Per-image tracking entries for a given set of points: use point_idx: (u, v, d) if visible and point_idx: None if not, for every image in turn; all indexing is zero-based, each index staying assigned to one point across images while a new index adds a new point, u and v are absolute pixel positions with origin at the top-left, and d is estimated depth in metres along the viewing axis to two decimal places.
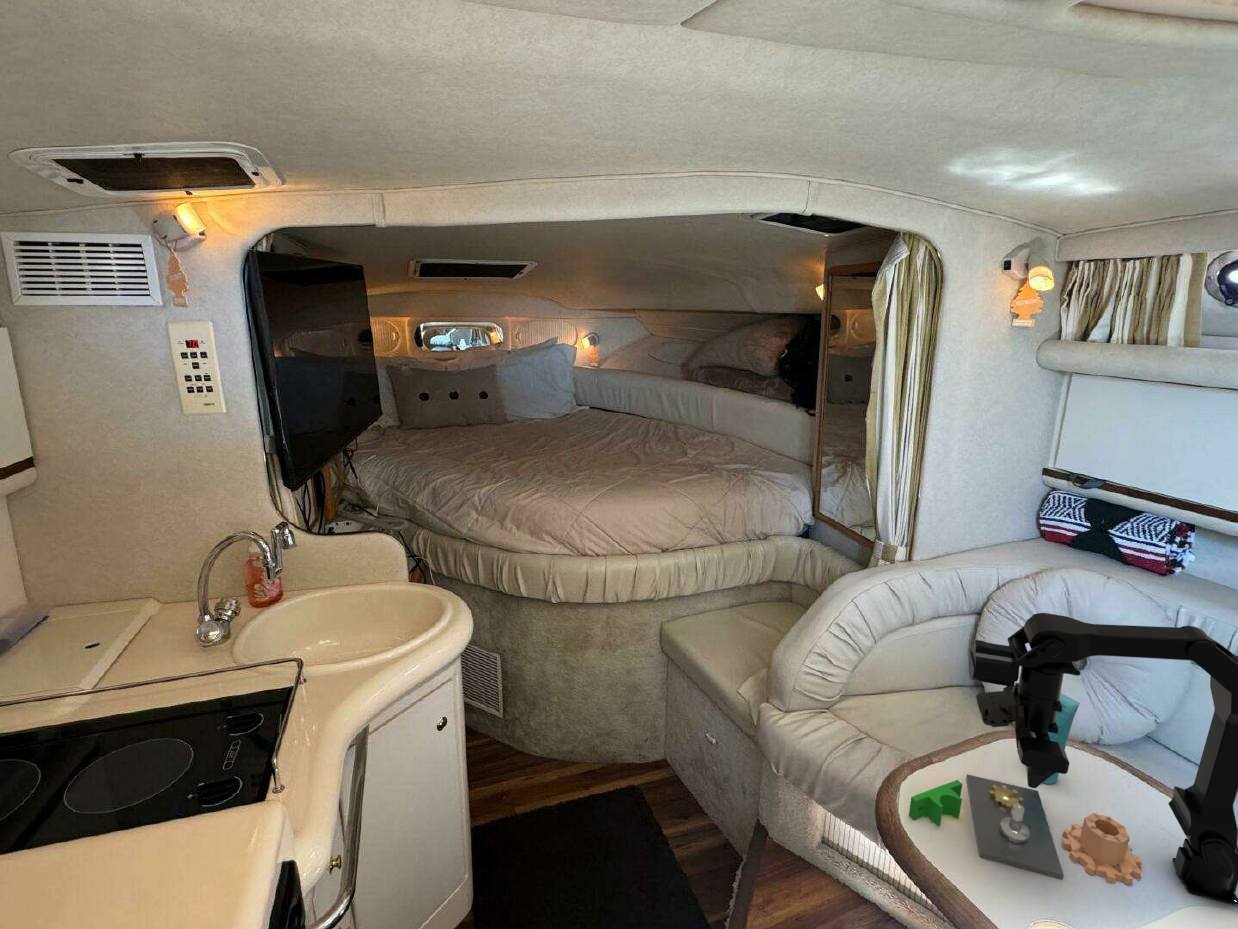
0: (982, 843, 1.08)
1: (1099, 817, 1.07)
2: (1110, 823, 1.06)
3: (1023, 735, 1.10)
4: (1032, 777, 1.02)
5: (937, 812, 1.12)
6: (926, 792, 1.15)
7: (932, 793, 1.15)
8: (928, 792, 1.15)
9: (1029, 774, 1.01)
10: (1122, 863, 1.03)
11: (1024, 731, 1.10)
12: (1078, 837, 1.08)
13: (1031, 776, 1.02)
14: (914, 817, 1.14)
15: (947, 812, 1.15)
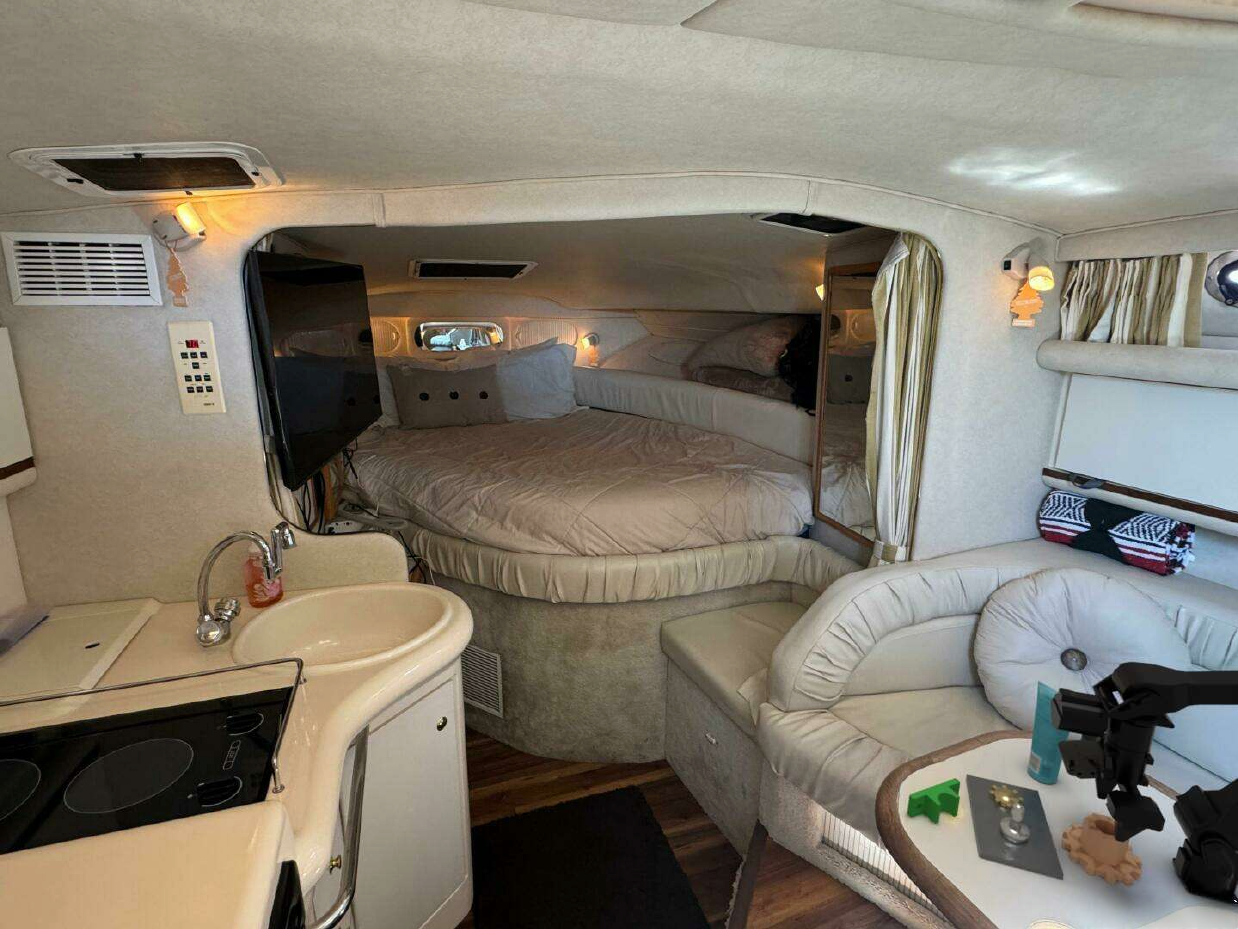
0: (982, 843, 1.08)
1: (1099, 817, 1.07)
2: (1110, 823, 1.06)
3: (1104, 784, 1.07)
4: (1121, 831, 0.99)
5: (935, 810, 1.13)
6: (924, 790, 1.16)
7: (930, 791, 1.15)
8: (926, 790, 1.15)
9: (1118, 828, 0.98)
10: (1122, 863, 1.03)
11: (1105, 780, 1.07)
12: (1078, 837, 1.08)
13: (1120, 830, 0.99)
14: (913, 815, 1.15)
15: (945, 810, 1.16)
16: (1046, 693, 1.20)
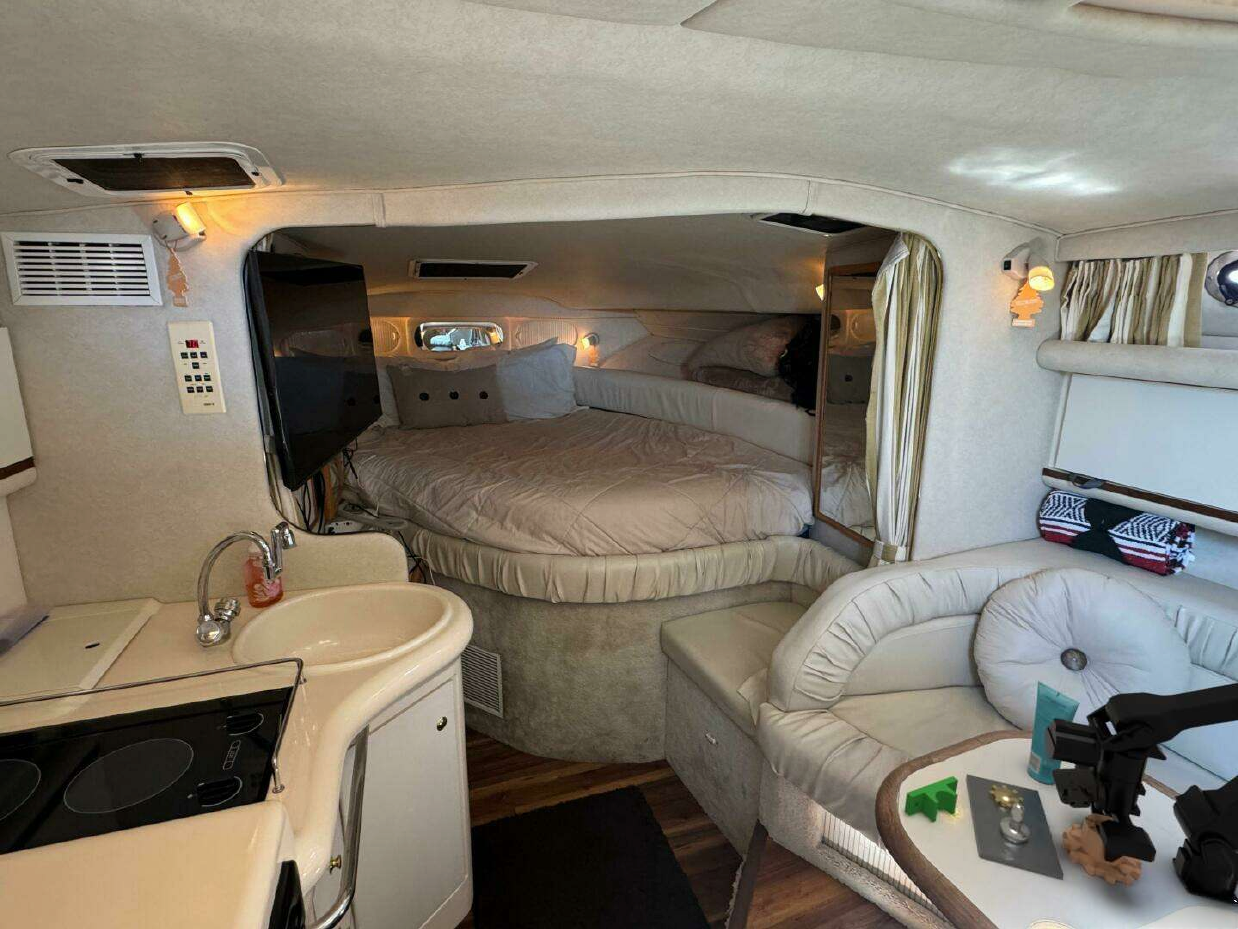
0: (982, 843, 1.08)
1: (1099, 817, 1.07)
2: None
3: None
4: (1110, 852, 1.02)
5: (933, 808, 1.13)
6: (922, 788, 1.16)
7: (928, 789, 1.16)
8: (924, 788, 1.16)
9: (1107, 849, 1.02)
10: (1122, 863, 1.03)
11: (1101, 814, 1.07)
12: (1078, 837, 1.08)
13: (1109, 851, 1.02)
14: (910, 813, 1.15)
15: (943, 808, 1.16)
16: (1046, 693, 1.20)
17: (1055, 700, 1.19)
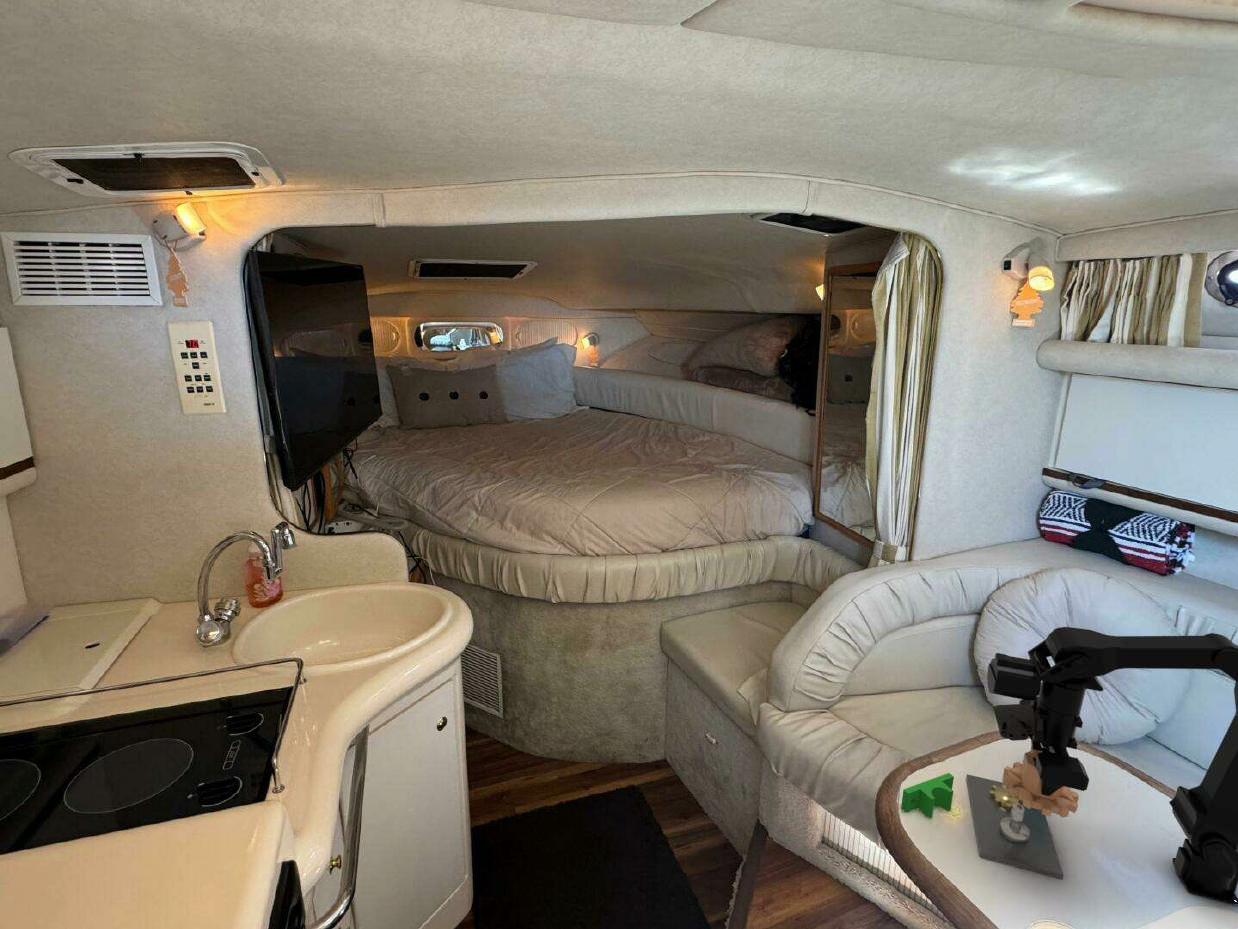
0: (982, 843, 1.08)
1: None
2: None
3: None
4: (1046, 785, 1.02)
5: (929, 805, 1.14)
6: (918, 784, 1.17)
7: (924, 786, 1.16)
8: (920, 785, 1.17)
9: (1044, 782, 1.02)
10: (1059, 797, 1.04)
11: None
12: (1018, 774, 1.09)
13: (1045, 784, 1.02)
14: (907, 810, 1.16)
15: (939, 804, 1.17)
16: None
17: None
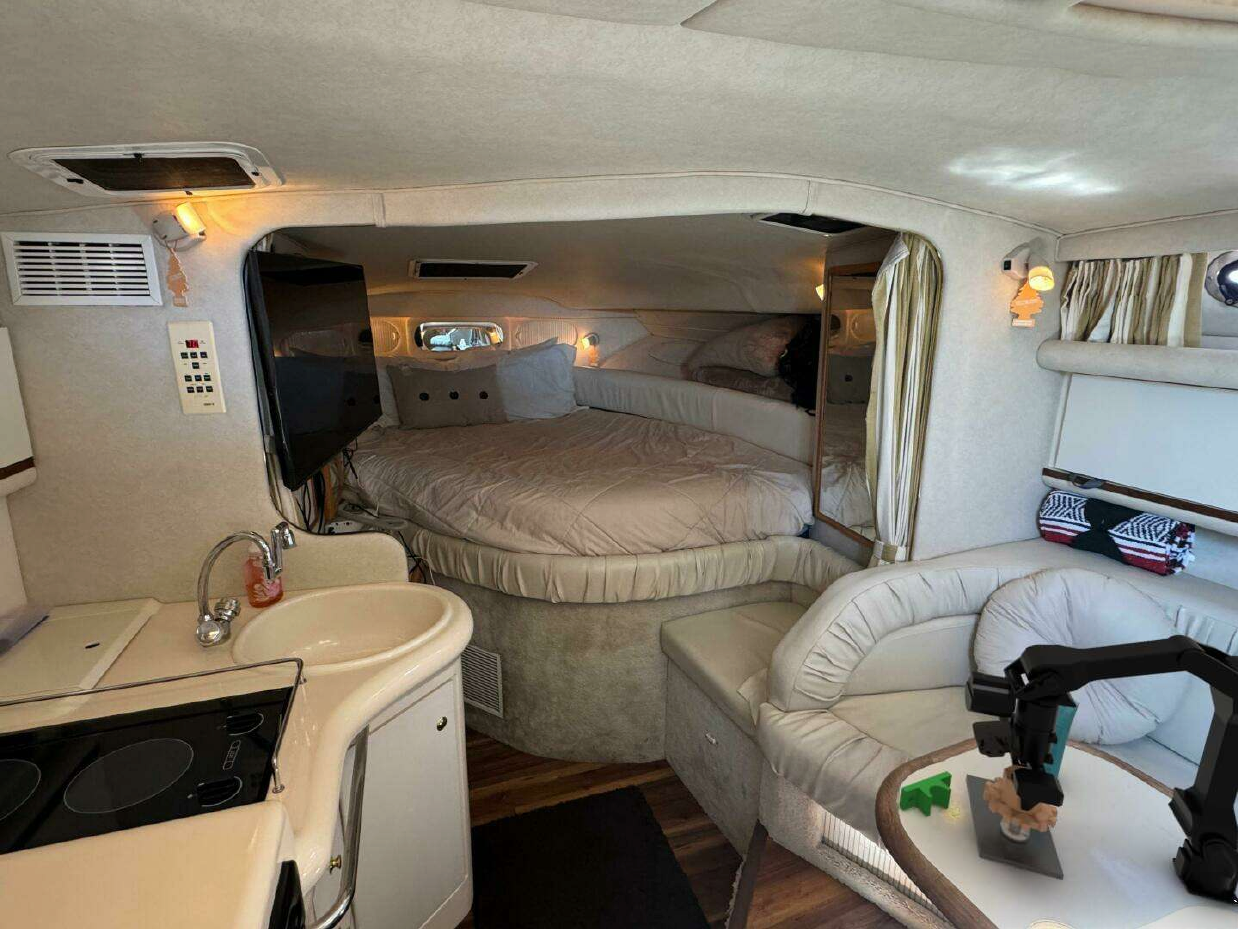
0: (982, 843, 1.08)
1: (1018, 768, 1.09)
2: None
3: None
4: (1025, 800, 1.04)
5: (927, 803, 1.15)
6: (916, 783, 1.17)
7: (922, 784, 1.17)
8: (918, 783, 1.17)
9: (1022, 797, 1.04)
10: (1038, 812, 1.05)
11: None
12: (999, 789, 1.10)
13: (1024, 799, 1.04)
14: (905, 808, 1.16)
15: (937, 803, 1.17)
16: None
17: None
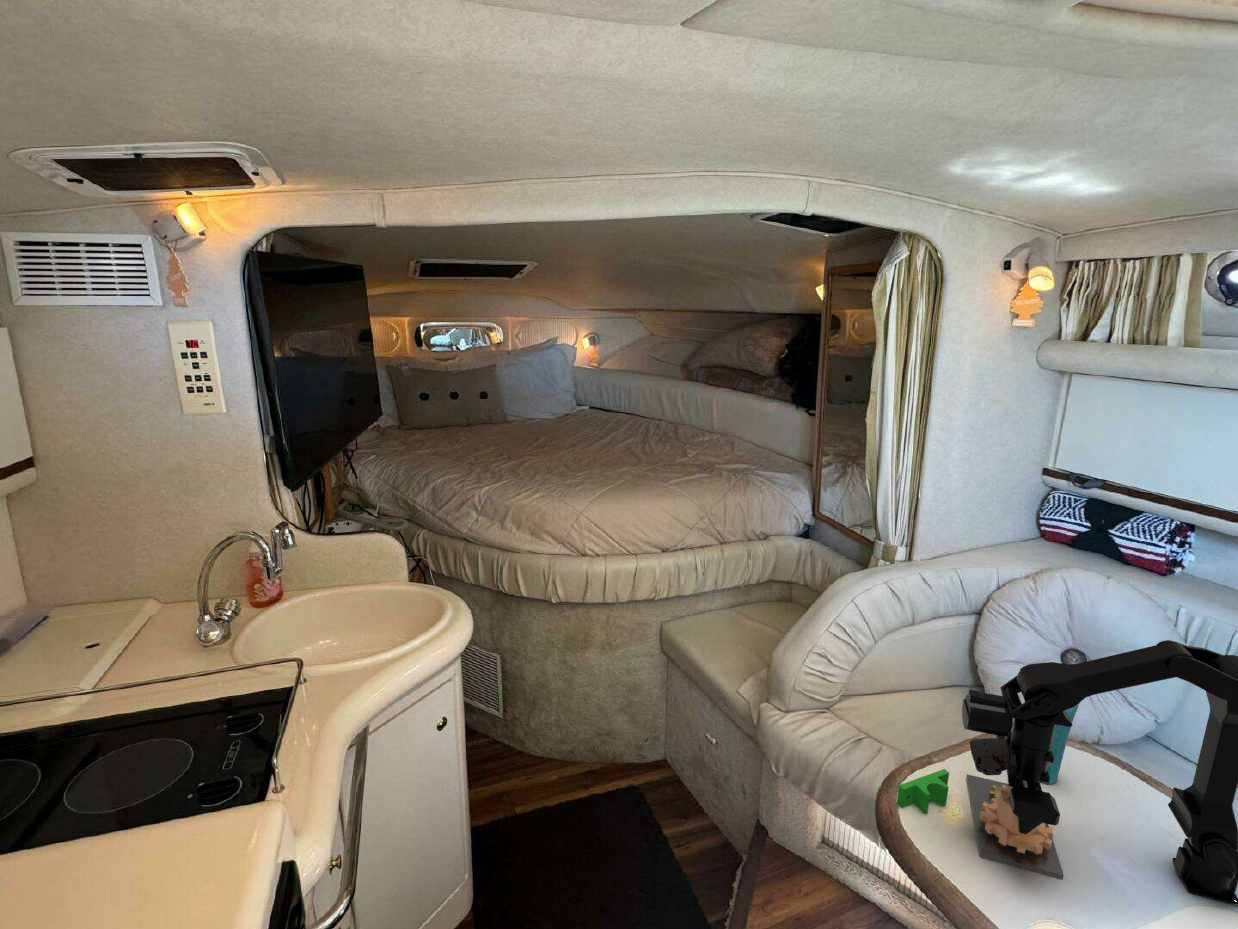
0: (982, 843, 1.08)
1: None
2: None
3: (1016, 782, 1.12)
4: (1023, 824, 1.04)
5: (924, 800, 1.15)
6: (914, 780, 1.18)
7: (920, 782, 1.17)
8: (915, 781, 1.18)
9: (1020, 821, 1.03)
10: (1034, 834, 1.07)
11: (1016, 778, 1.12)
12: (995, 810, 1.12)
13: (1022, 823, 1.04)
14: (902, 806, 1.17)
15: (934, 800, 1.18)
16: None
17: None
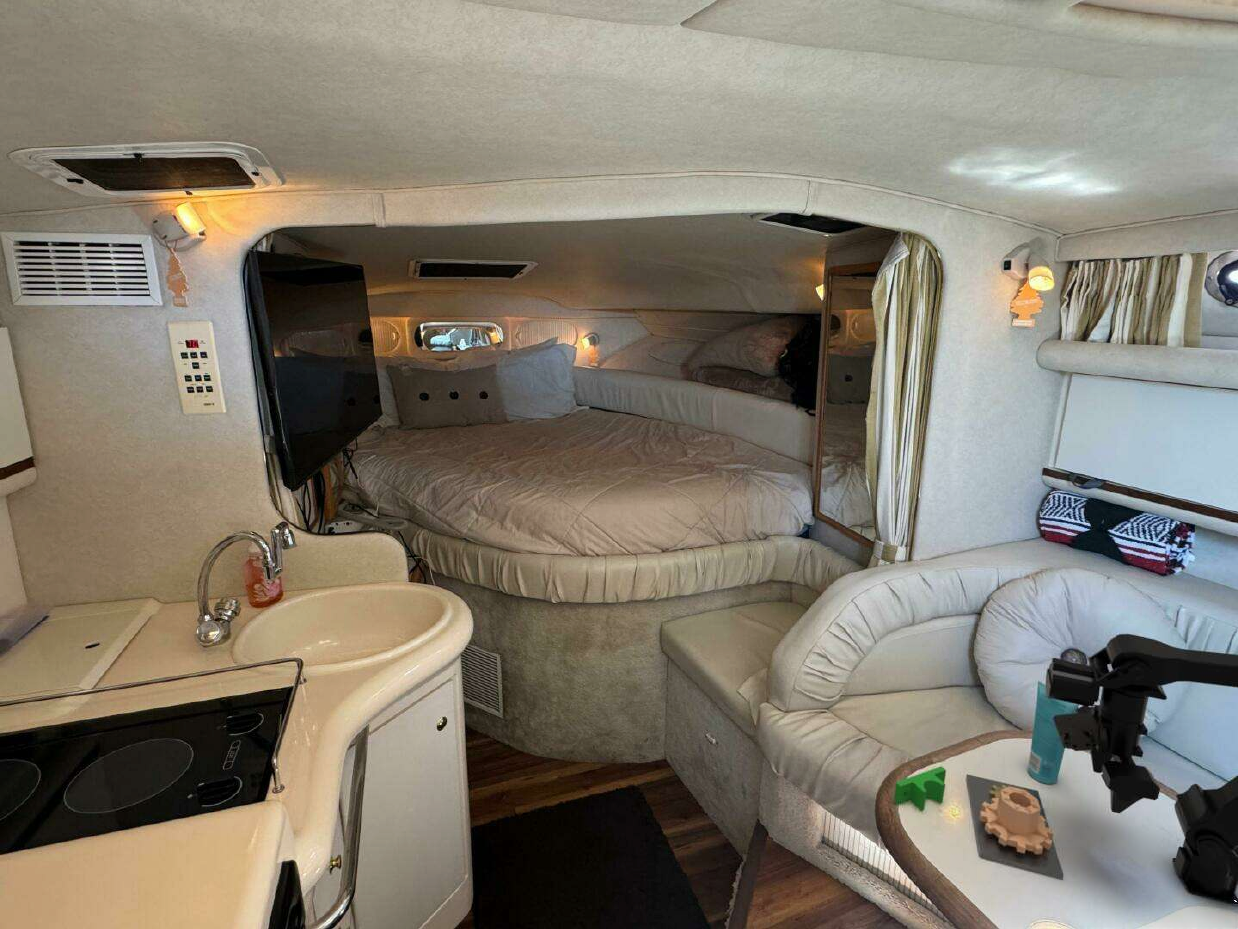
0: (982, 843, 1.08)
1: (1014, 790, 1.10)
2: (1024, 796, 1.09)
3: (1100, 757, 1.08)
4: (1117, 802, 0.99)
5: (921, 797, 1.16)
6: (911, 777, 1.18)
7: (917, 779, 1.18)
8: (912, 778, 1.18)
9: (1114, 799, 0.99)
10: (1034, 834, 1.07)
11: (1101, 753, 1.08)
12: (995, 810, 1.12)
13: (1116, 801, 0.99)
14: (899, 803, 1.18)
15: (931, 797, 1.19)
16: None
17: (1055, 700, 1.19)
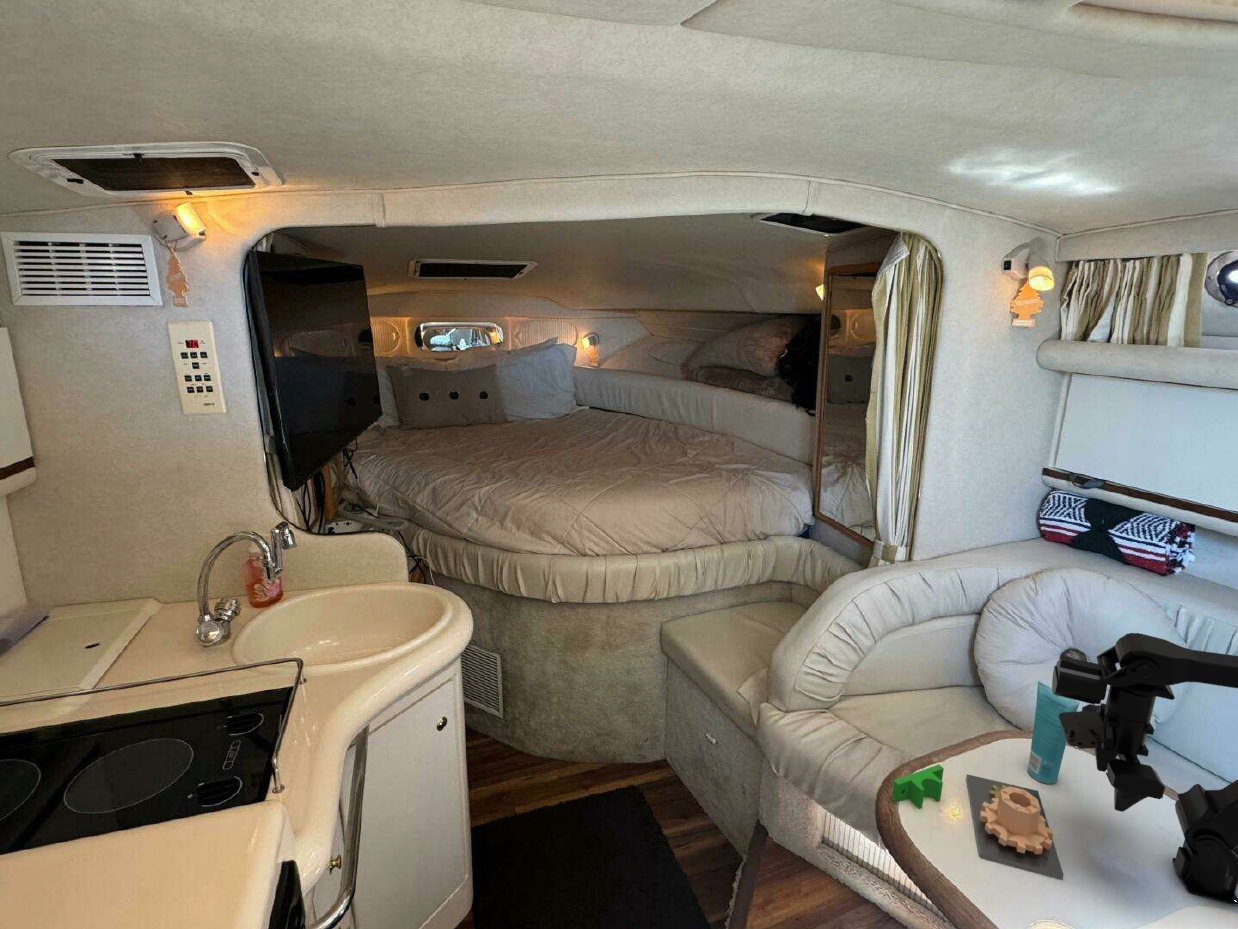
0: (982, 843, 1.08)
1: (1014, 790, 1.10)
2: (1024, 796, 1.09)
3: (1104, 756, 1.08)
4: (1121, 800, 0.99)
5: (919, 795, 1.16)
6: (909, 776, 1.19)
7: (914, 777, 1.18)
8: (910, 776, 1.19)
9: (1118, 797, 0.99)
10: (1034, 834, 1.07)
11: (1105, 752, 1.08)
12: (995, 810, 1.12)
13: (1120, 799, 0.99)
14: (897, 801, 1.18)
15: (929, 795, 1.19)
16: (1046, 693, 1.20)
17: (1055, 700, 1.19)
